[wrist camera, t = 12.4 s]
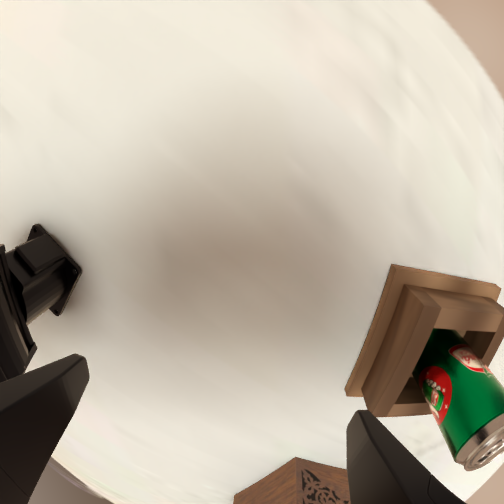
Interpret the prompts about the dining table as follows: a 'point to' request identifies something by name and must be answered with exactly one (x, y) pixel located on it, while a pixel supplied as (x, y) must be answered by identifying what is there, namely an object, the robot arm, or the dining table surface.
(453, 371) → the soda can
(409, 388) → the socket block
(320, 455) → the dining table surface
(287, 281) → the dining table surface
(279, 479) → the tissue box cover
